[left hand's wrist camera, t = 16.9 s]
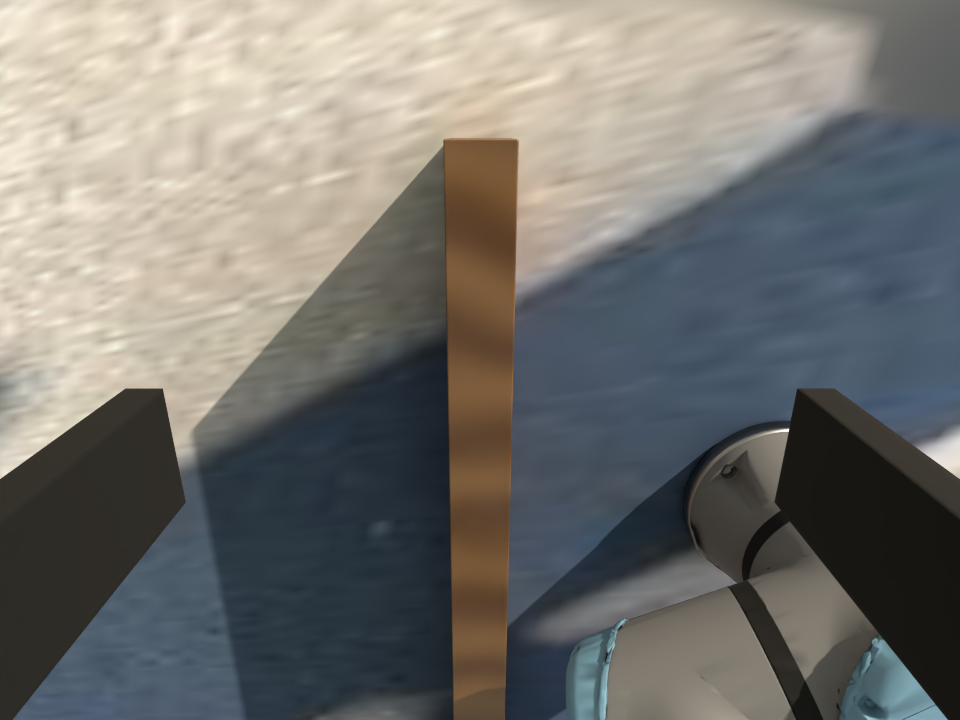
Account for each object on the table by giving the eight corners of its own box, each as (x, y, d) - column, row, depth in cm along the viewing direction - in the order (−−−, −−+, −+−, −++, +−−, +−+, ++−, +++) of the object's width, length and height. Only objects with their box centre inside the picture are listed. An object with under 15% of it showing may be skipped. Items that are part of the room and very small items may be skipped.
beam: (449, 138, 44) (443, 139, 36) (512, 138, 44) (518, 139, 36) (458, 803, 69) (456, 881, 62) (498, 803, 69) (501, 881, 62)
